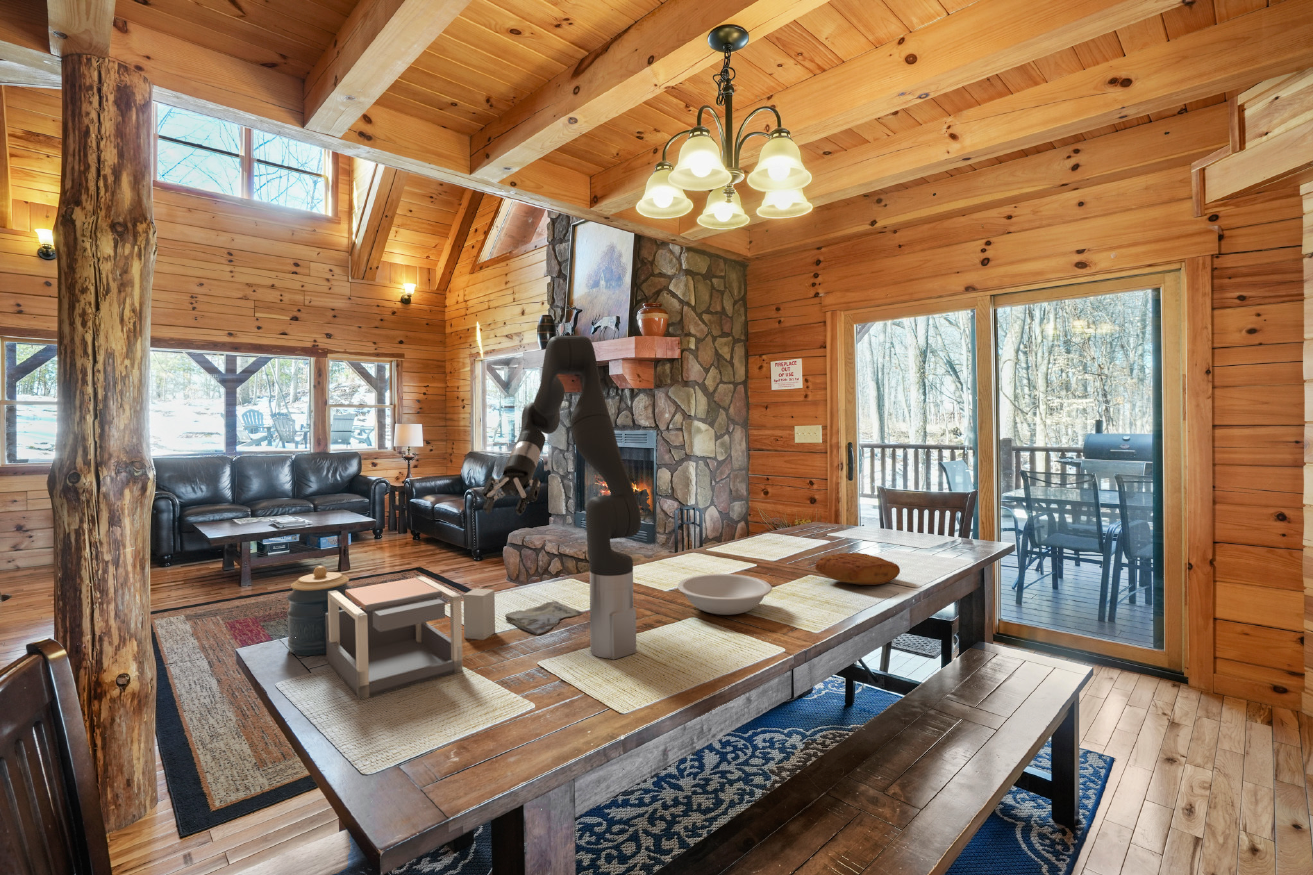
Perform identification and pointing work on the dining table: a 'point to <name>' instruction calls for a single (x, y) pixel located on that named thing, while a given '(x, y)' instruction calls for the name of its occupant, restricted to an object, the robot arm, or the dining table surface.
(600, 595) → the robot arm
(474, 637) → the beige rectangular block
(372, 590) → the trapdoor
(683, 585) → the soup bowl
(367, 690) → the frame
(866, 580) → the bread loaf
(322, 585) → the canister
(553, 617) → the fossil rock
